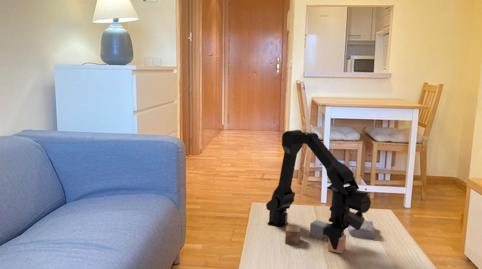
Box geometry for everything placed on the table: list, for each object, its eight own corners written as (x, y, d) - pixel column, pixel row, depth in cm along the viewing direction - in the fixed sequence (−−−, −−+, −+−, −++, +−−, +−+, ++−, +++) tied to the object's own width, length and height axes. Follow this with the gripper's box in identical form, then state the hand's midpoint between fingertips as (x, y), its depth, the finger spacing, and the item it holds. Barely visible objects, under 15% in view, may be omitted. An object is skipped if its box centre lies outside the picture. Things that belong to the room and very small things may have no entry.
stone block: (349, 242, 156) (376, 239, 154) (347, 230, 156) (375, 227, 153) (348, 230, 168) (373, 228, 165) (346, 219, 167) (371, 217, 165)
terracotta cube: (327, 250, 143) (328, 237, 143) (331, 244, 148) (332, 231, 147) (341, 253, 141) (343, 240, 140) (345, 248, 146) (346, 234, 145)
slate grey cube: (309, 235, 156) (310, 223, 155) (315, 231, 160) (316, 219, 159) (321, 239, 153) (322, 226, 152) (327, 235, 157) (328, 222, 156)
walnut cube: (285, 243, 149) (285, 230, 148) (286, 238, 154) (286, 225, 153) (298, 245, 148) (299, 232, 147) (299, 239, 153) (300, 226, 152)
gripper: (358, 217, 130) (354, 263, 133) (368, 200, 146) (364, 241, 149) (323, 210, 135) (320, 255, 138) (337, 195, 151) (334, 235, 154)
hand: (336, 246), depth 144 cm, fingers closed on terracotta cube, 5 cm apart
